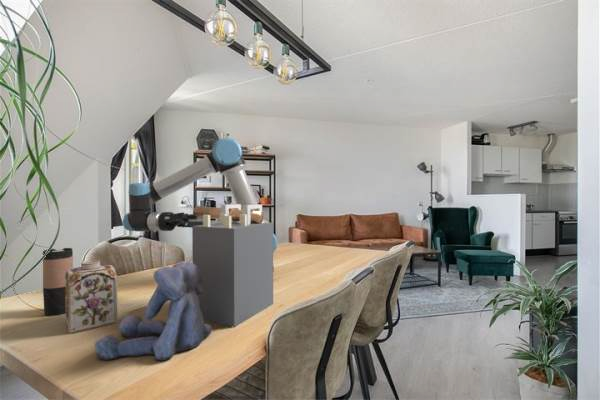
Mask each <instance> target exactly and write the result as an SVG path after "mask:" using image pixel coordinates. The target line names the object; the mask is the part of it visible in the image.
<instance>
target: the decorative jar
mask: <svg viewBox="0 0 600 400" xmlns="http://www.w3.org/2000/svg"><path fill="white" fill-rule="evenodd" d="M65 278H66V280H65V308H66V313H65V323H66V326H67V328H68V329H67V330H68V333H69V334H74V333H79V332H83V331H88V330H92V329H97V328H101V327H104V326H108V325H113V324H116V323H117V322H118V310H119V309H118V307H119V306H118V304H119V302H118V274H117V272H116V268H115V266H114V265H111V264H110V265H109V264H101V261H100V260H86V261H83V262H81V263H80V266H77V267H73V269H70V270H68V271H67V272H66V275H65Z"/></svg>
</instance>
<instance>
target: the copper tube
mask: <svg viewBox="0 0 600 400" xmlns="http://www.w3.org/2000/svg"><path fill="white" fill-rule="evenodd" d="M193 214H194V216H195V217H203V215H210V219H215V220H220V214H221V207H215V206H213V207H211V206H203V205H196V206H195V207H194V209H193ZM240 214H243V210H237V209H234V208H229V216H231V222H233V221H240ZM250 214H251V223H259V224H261V223H262V222H263V218H265V215H264V212H263V211H262V212H259V211H250Z"/></svg>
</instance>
